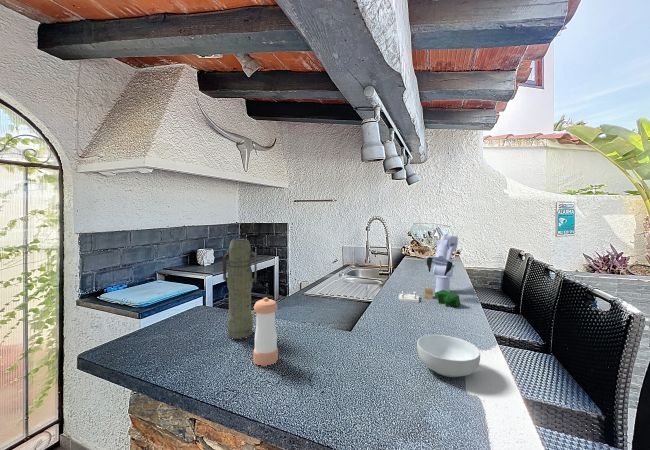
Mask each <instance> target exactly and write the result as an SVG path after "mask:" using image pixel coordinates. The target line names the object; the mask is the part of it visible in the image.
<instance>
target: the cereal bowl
mask: <svg viewBox="0 0 650 450" xmlns="http://www.w3.org/2000/svg"><path fill="white" fill-rule="evenodd" d="M416 351H417V355H418V357H419V360H420V361H421V362H422V363H423V364H424V366H426V368H428V369H429V370H431V371H433V372H434V373H436V374H438V375H441V376H443V377H448V378H456V377H465V376H469V375H471V374H473V373H474V372H475V371H477V369H478V367H479V366H480V362H481V352H480V349H478V347H477V346H476V345H474V344H473V343H471V342H469V341H467V340H466V339H463V338H459V337H454V336H450V335H443V334H426V335H422V336H421V337H420V338H418V339H417V344H416Z"/></svg>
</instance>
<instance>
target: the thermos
mask: <svg viewBox="0 0 650 450" xmlns="http://www.w3.org/2000/svg"><path fill="white" fill-rule="evenodd" d="M251 247H252V246H251V244H250V240H248V239H247V238H233V239H232V240H231V241H230V244H229V247H228V252H225V253H223V254H224V255H222V272H223V273H222V279H223V280H224V282H226V284H227V285H226V287H227V289H228V318H227V325H226V327H227V337H228V336H229V337H230V338H233V339H240V338H245V337H248V336H250V335H252V336H253V328H254V321H253V320H254V319H253V316H252V289H253V282H254V281H257V278H258V277H257V270H258V269H257V268H258V267H257V264H258V263H257V262H258V261H257V258H258V255H257V254H256V253H255V251H252V250H251V249H252V248H251ZM252 255H253V258H254V261H253V262H254V275H253V269H252V266H251V265H252V263H251V260H252V258H251V257H252ZM227 256H228V262H229V265H228V271H227ZM229 337H228V338H229ZM250 337H251V336H250ZM230 338H229V339H230ZM233 339H232V340H233Z"/></svg>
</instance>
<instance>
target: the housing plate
mask: <svg viewBox="0 0 650 450" xmlns="http://www.w3.org/2000/svg"><path fill="white" fill-rule="evenodd" d="M398 302H406V303H407V302H409V303H420V295H419V294H417V292H416V291H413V294H411V293H405V290H402V291H401V293H399V295H398Z"/></svg>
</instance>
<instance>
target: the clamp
mask: <svg viewBox="0 0 650 450" xmlns="http://www.w3.org/2000/svg"><path fill="white" fill-rule="evenodd" d="M434 296H435V297H436V298H437V302H438V304H442V303H444V305H445V307H449V306H453V307H454V308H457V307H460V306H461V300H460V295H458V294H456V293H453V292H451V291H450V292H448V291H445V290H441V291H438V292H436V293H435V292H434Z"/></svg>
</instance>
